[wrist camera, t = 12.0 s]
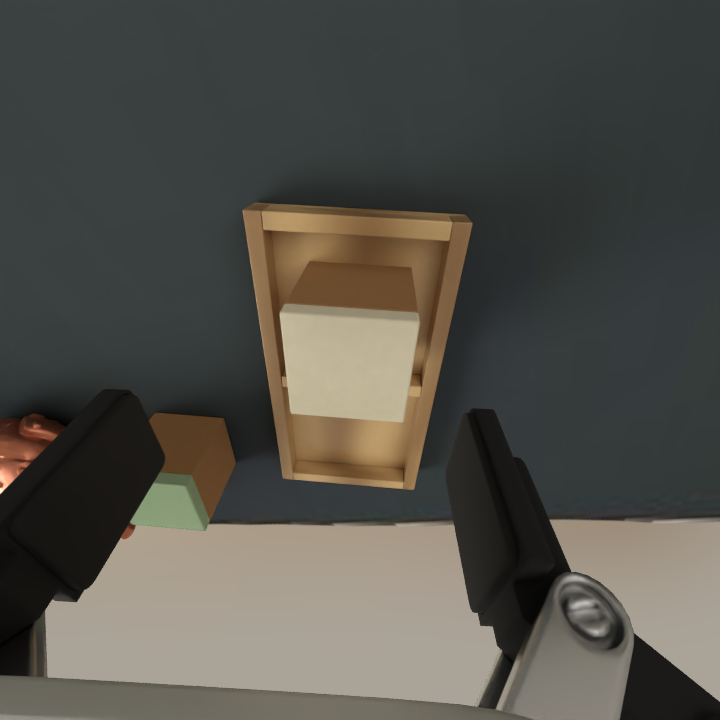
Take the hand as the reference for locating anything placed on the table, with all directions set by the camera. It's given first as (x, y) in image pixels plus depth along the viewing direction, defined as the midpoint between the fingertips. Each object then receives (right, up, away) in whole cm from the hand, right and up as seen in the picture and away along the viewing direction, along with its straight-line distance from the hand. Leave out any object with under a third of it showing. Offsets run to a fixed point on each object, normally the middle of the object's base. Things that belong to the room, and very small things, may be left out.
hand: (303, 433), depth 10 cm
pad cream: (+2, +5, +8) cm, 9 cm away
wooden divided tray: (+1, +1, +11) cm, 11 cm away
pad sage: (-10, -4, +15) cm, 19 cm away
